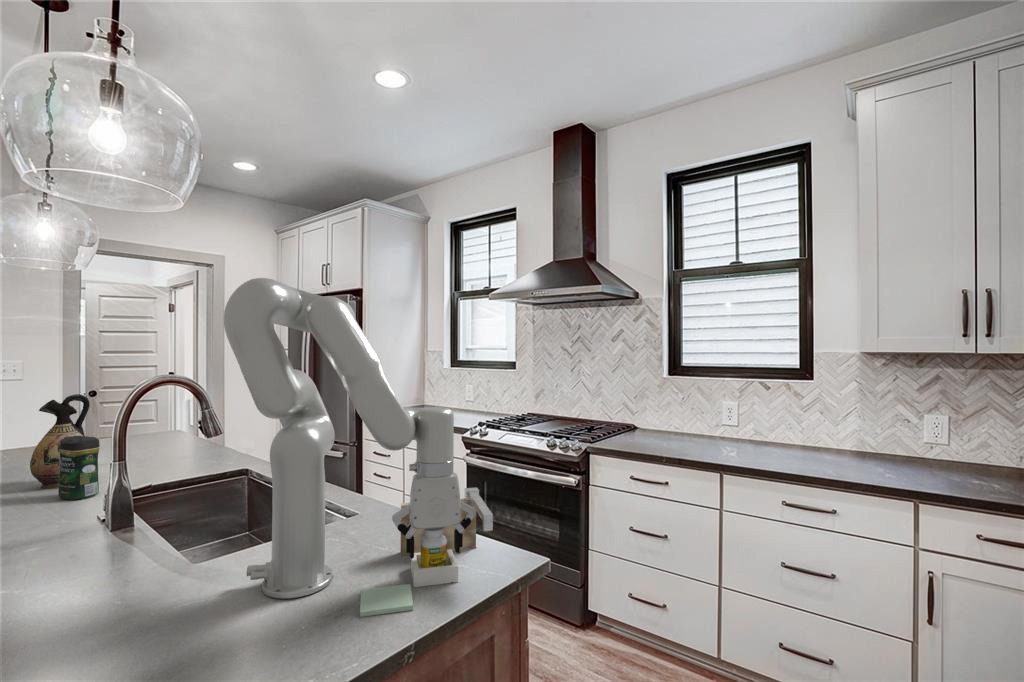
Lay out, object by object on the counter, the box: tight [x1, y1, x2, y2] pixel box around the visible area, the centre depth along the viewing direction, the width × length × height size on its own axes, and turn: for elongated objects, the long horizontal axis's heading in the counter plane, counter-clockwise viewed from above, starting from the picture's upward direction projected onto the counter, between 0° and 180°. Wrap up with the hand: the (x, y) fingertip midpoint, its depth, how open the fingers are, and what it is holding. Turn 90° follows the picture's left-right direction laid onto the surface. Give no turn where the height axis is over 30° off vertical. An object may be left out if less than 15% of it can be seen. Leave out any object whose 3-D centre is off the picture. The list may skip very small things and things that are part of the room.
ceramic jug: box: [29, 393, 91, 489], centre depth 161 cm, size 17×15×30 cm
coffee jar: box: [58, 435, 101, 501], centre depth 148 cm, size 10×8×19 cm
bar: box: [463, 487, 494, 532], centre depth 105 cm, size 3×19×3 cm, turn 16°
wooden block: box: [399, 497, 477, 557], centre depth 111 cm, size 17×2×11 cm, turn 106°
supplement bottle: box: [421, 527, 447, 568], centre depth 99 cm, size 5×5×10 cm
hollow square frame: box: [410, 549, 459, 588], centre depth 99 cm, size 9×9×3 cm
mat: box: [359, 583, 414, 618], centre depth 88 cm, size 9×8×1 cm
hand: (434, 553), depth 99 cm, fingers open, 8 cm apart
